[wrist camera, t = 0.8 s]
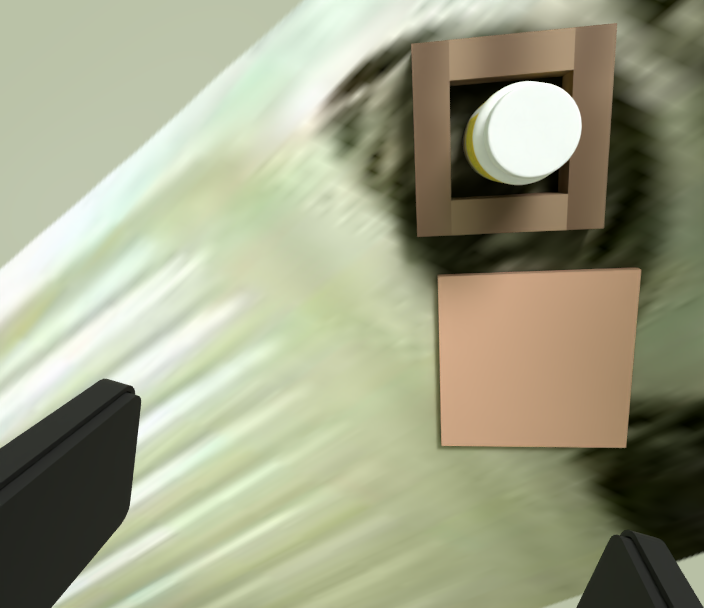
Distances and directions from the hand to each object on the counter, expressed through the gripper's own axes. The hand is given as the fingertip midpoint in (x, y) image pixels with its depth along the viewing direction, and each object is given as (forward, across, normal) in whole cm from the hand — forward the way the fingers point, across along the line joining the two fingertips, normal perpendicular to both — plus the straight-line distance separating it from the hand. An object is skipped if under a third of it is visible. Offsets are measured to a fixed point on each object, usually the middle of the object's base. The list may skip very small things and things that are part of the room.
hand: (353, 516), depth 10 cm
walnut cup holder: (+24, -4, -8) cm, 26 cm away
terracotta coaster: (+24, -10, +4) cm, 26 cm away
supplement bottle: (+25, -4, -8) cm, 26 cm away
